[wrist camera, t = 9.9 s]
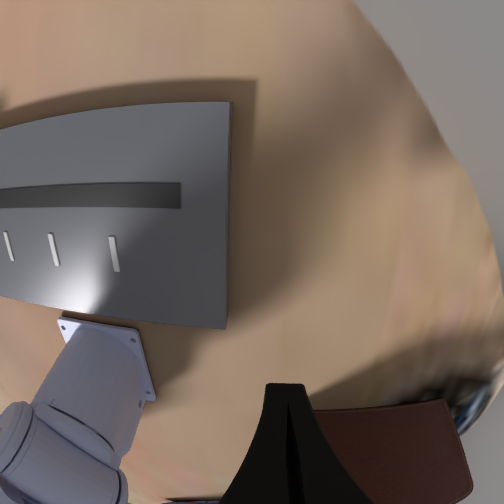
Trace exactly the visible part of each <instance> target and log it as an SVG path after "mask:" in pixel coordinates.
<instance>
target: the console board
mask: <svg viewBox="0 0 504 504" xmlns="http://www.w3.org/2000/svg"><path fill="white" fill-rule="evenodd" d="M232 103H233V102H178V103H158V104H144V105H132V106H122V107H113V108H105V109H98V110H90V111H84V112H78V113H72V114H66V115H61V116H55V117H50V118H45V119H41V120H36V121H32V122H28V123H23V124H19V125H15V126H12V127H8V128H4V129H1V130H0V296H3V297H7V298H11V299H16V300H20V301H25V302H29V303H34V304H39V305H44V306H49V307H54V308H60V309H65V310H71V311H77V312H82V313H89V314H95V315H101V316H108V317H115V318H122V319H129V320H137V321H144V322H153V323H161V324H170V325H180V326H190V327H201V328H213V329H226V324H227V317H228V237H229V191H230V156H231V128H232Z"/></svg>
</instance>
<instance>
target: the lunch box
mask: <svg viewBox="0 0 504 504" xmlns="http://www.w3.org/2000/svg"><path fill="white" fill-rule="evenodd" d="M219 501H220V500H219ZM219 501H191V502H170V503H163V504H218V503H219Z"/></svg>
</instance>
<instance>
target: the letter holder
mask: <svg viewBox="0 0 504 504" xmlns="http://www.w3.org/2000/svg"><path fill="white" fill-rule="evenodd" d="M313 411H314V413H315V416H316V418H317V420H318V422H319V424H320V426H321V428H322V430H323V432H324V434H325V436H326V438H327V440H328V441H329V443H330V445H331V447H332V448H333V450H334V452H335V453H336V455H337V457H338V458H339V460H340V461H341V463H342V464H343V466H344V467H345V468H346V470H347V471H348V473H349V474H350V475H351V477H352V478H353V479H354V480H355V482H356V483H357V484H358V485H359V487H360V488H361V489H362V490H363V491H364V492H365V493H366V494H367V496H368V497H369V498H370V499H371V500H372V501H373V502H374V503H375V504H456V503H457V502H459V501H461V500H463V499H464V498H466V497H467V496H468V495H469V494H470V493H471V492H472V490H473V481H472V477H471V474H470V470H469V467H468V464H467V461H466V457H465V453H464V450H463V447H462V444H461V441H460V438H459V435H458V432H457V430H456V427H455V424H454V421H453V418H452V416H451V413H450V410H449V407H448V405H447V402H446V400H445V399H444V398H440V399H434V400H429V401H422V402H416V403H409V404H401V405H393V406H383V407H371V408H358V409H339V410H313Z"/></svg>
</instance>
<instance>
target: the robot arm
mask: <svg viewBox="0 0 504 504" xmlns="http://www.w3.org/2000/svg"><path fill="white" fill-rule="evenodd" d="M57 321H58V324H59V327H60V329H61V332H62V334H63V337H64V339H65V342H66V346H65V347H64V349H63V350H62V352H61V353H60V355H59V357H58V358H57V360H56V361H55V363H54V365H53V366H52V368H51V370H50V371H49V373H48V375H47V376H46V378H45V380H44V381H43V383H42V385H41V387H40V388H39V390H38V392H37V394H36V395H35V397H34V399H33V401H32V403H31V404H28V403H26V402H25V401H21V402H14V403H12V404H10V405H9V406H8V407H7V408H6V409H5V410H4V411H3V412H2V414H1V415H0V504H127V502H128V483H127V479H126V476H125V474H124V473H123V472H122V471H121V470H120V469H119V466H120V463H121V459H122V457H123V456H124V455H125V454H126V453H127V452H128V451H129V450H130V448H131V446H132V443H133V440H134V436H135V433H136V430H137V427H138V423H139V420H140V417H141V414H142V411H143V408H144V404H145V401H146V400H147V401H155V400H156V395H155V391H154V388H153V384H152V381H151V378H150V374H149V370H148V367H147V363H146V359H145V355H144V352H143V348H142V344H141V339H140V335H139V332H138V331H137V330H135V329H133V328H126V327H120V326H113V325H107V324H100V323H95V322H89V321H83V320H77V319H72V318H67V317H59V318H58V320H57ZM133 338H134V339H133ZM218 504H375V503H374V502H373V501H372V500H371V499H370V498H369V497H368V496H367V494H366V493H365V492H364V491H363V490H362V489H361V488H360V487H359V485H358V484H357V483H356V482H355V480H354V479H353V478H352V477H351V475H350V474H349V473H348V471H347V470H346V468H345V467H344V466H343V464H342V463H341V461H340V460H339V458H338V457H337V455H336V453H335V452H334V450H333V448H332V447H331V445H330V443H329V441H328V440H327V438H326V436H325V434H324V432H323V430H322V428H321V426H320V424H319V422H318V420H317V418H316V416H315V413H314V411H313V409H312V406H311V404H310V401H309V398H308V396H307V393H306V390H305V386H304V385H303V384H286V383H268V384H266V388H265V395H264V403H263V410H262V414H261V418H260V421H259V424H258V427H257V430H256V433H255V435H254V438H253V440H252V443H251V445H250V447H249V450H248V452H247V454H246V456H245V459H244V461H243V463H242V465H241V467H240V468H239V470H238V472H237V474H236V476H235V478H234V479H233V481H232V483H231V484H230V486H229V488H228V489H227V491H226V492H225V494H224V496H223V497H222V498H221V500H220V501H219V503H218Z"/></svg>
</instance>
